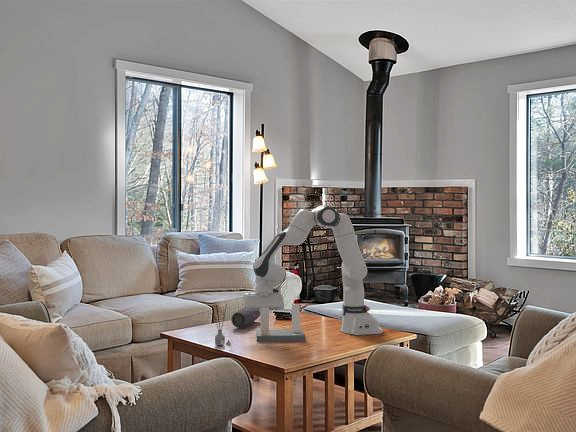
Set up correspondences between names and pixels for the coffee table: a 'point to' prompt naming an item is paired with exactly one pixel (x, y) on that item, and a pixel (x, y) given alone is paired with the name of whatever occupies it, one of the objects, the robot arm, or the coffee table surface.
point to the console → (280, 336)
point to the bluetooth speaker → (244, 317)
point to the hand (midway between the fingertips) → (264, 316)
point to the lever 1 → (264, 320)
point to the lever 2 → (295, 317)
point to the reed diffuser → (220, 333)
